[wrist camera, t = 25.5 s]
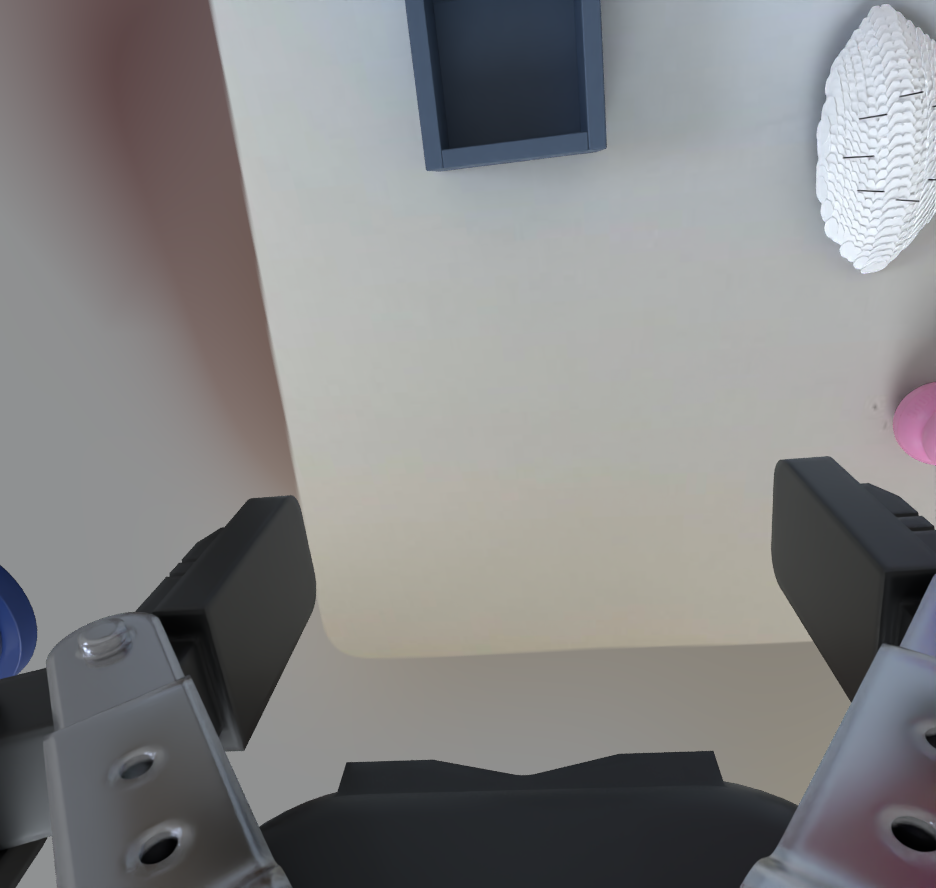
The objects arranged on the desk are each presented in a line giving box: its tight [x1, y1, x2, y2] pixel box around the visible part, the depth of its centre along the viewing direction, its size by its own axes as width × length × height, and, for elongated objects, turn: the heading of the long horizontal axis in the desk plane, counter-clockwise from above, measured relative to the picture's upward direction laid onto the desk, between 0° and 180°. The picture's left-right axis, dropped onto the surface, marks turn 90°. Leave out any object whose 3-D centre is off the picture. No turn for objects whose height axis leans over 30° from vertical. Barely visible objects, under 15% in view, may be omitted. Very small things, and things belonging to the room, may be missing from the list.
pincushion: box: [816, 4, 936, 274], centre depth 32 cm, size 12×6×6 cm, turn 9°
